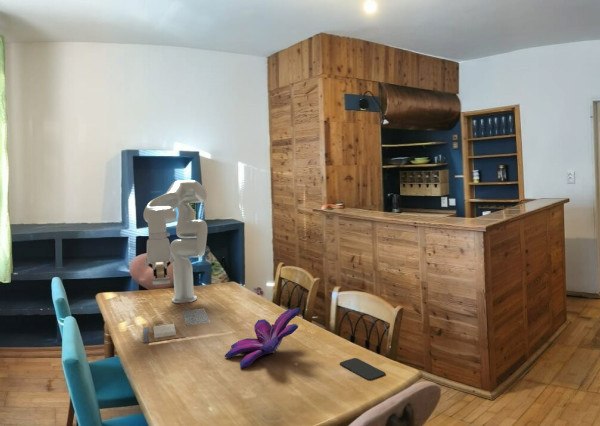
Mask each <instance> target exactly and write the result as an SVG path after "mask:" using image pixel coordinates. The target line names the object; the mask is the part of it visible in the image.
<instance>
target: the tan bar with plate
mask: <svg viewBox="0 0 600 426" xmlns="http://www.w3.org/2000/svg"><path fill="white" fill-rule="evenodd" d="M155 267H156V270H157V278H152V279H151V280H152V285H153V286H154V285H155V286H157V285H163V284H164V285H165V284H170V283H171V279H170V277H169V276H166V277H165V278H164V262H156V264H155Z"/></svg>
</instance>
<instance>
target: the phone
mask: <svg viewBox="0 0 600 426" xmlns="http://www.w3.org/2000/svg"><path fill="white" fill-rule="evenodd" d="M339 366H341V367H342V368H344V369H346V370H348V371H350V372H352V373H353V374H354V375H357V376H358V377H361V378H363V379H365V380H367V381H374V380H377V379H379V378H382V377H385V376H386V372H384V371H383V370H381V369H379V368H377V367H375V366H373V365H371V364H369V363H367V362H365V361H364V360H362V359H359V358H357V357H353V358H350V359H346V360H343V361H340V362H339Z"/></svg>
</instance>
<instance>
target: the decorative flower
mask: <svg viewBox="0 0 600 426" xmlns="http://www.w3.org/2000/svg"><path fill="white" fill-rule="evenodd" d="M300 310H301V307H296V308H294V309H290V308H289V309H287V310H285V311H284V312H282V313H281V314H280V315H279V316H278V317H277V318H276V320H275V321H274V323H273V324H271V323H270V322H269V321H268V320H266V319H258V320H257V321H256V322H255V324H254V325H253V326H254V327H253V329H254V332H255V336H256V338H249V337H248V338H247V337H246V338H244V339H240V340H238V341H236V342H235V343H233V344H231V345H230V348H231V349H230V350H228V351H227V352H226V353H225V355H224V358H232V357H236V356H237V355H239V354H241V353H247V352H250V353H248V354H246V355H245V356H244V357H243V358H242V359H241V360H240V362H239V366H240V369H244V368H246V367H248V366H251V365H252V364H253V363H254V361H256V360H257V359H258V358H260V357H261V356H263V355H268V354H274V353H275V352H276V351H277V349H278V348H279V346H280V344H281V343H282V341H283V339H284V338H286V337H288V336H290V335H292V334H293V333H294V332H295V331H296V330H297V329H298V328H299V325H298V324H297V323H292V324H289V323H290V322H291V321H292V320H293V319H295V318H296V317H298V315H299V313H300Z"/></svg>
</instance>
